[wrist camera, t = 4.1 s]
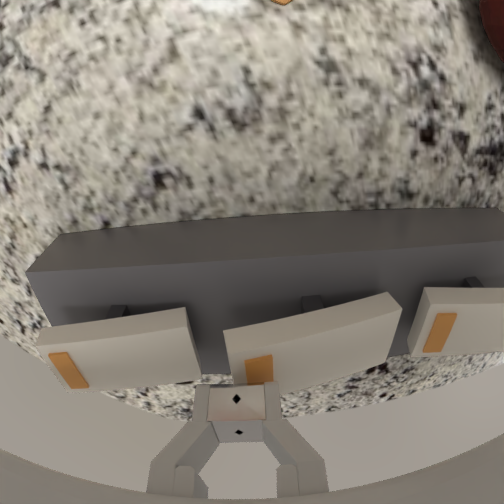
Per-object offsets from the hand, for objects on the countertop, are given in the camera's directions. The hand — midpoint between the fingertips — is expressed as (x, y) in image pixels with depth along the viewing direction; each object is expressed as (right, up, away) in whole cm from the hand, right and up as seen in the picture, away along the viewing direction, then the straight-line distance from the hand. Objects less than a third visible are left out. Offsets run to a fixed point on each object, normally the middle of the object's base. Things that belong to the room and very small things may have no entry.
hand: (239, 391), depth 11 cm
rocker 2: (+3, +1, +1) cm, 4 cm away
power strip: (+8, +4, +6) cm, 11 cm away
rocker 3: (+12, +2, +1) cm, 12 cm away
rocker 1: (-5, +1, +2) cm, 6 cm away
